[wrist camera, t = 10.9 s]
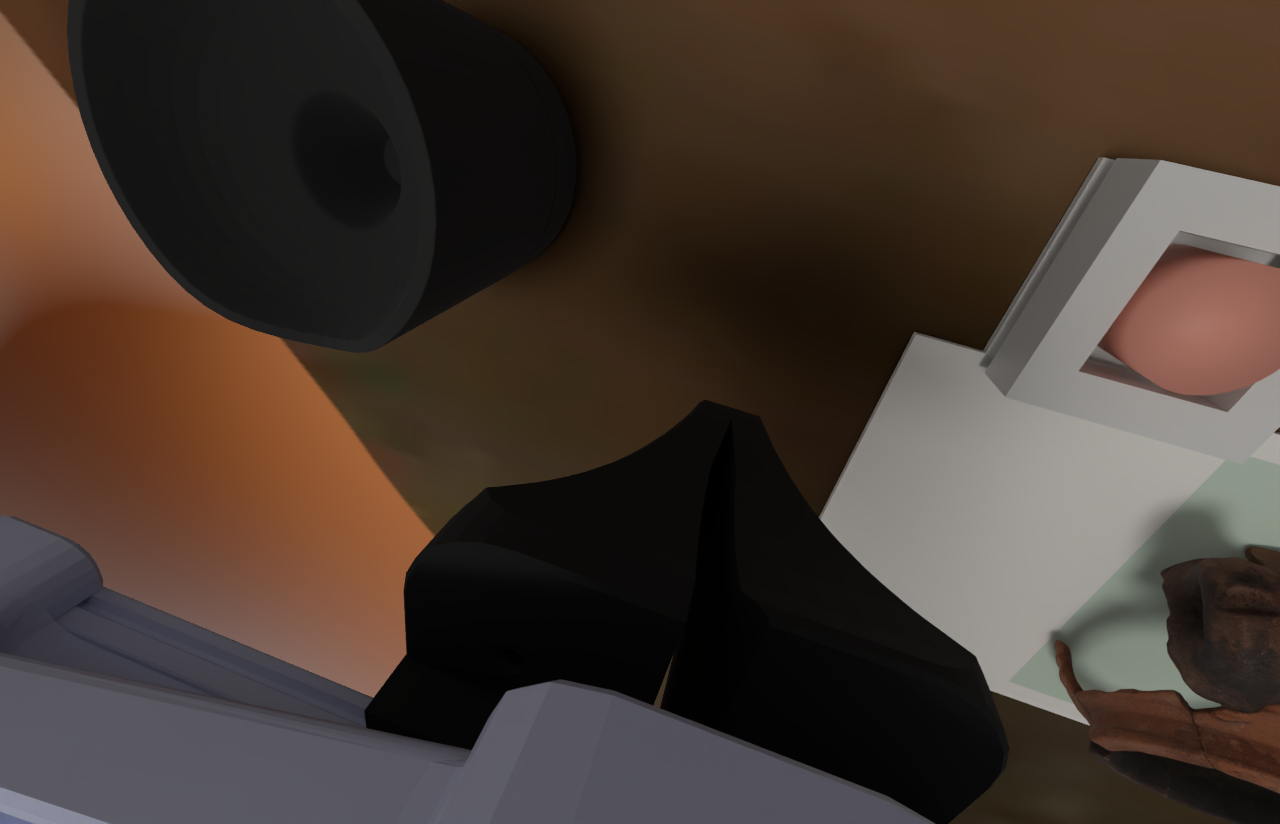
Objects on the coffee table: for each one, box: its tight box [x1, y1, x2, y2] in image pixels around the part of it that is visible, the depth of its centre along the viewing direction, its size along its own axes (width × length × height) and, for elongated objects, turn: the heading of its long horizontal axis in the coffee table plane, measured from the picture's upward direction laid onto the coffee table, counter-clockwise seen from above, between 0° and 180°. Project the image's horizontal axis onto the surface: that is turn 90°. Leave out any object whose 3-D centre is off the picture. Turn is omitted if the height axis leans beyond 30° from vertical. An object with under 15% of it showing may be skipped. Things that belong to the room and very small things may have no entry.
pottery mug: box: [1055, 547, 1280, 824], centre depth 19 cm, size 12×10×8 cm
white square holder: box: [979, 157, 1280, 464], centre depth 15 cm, size 7×7×3 cm
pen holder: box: [67, 0, 577, 352], centre depth 16 cm, size 9×9×10 cm
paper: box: [819, 332, 1280, 725], centre depth 21 cm, size 16×26×1 cm, turn 78°
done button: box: [1097, 244, 1280, 395], centre depth 15 cm, size 4×4×3 cm
